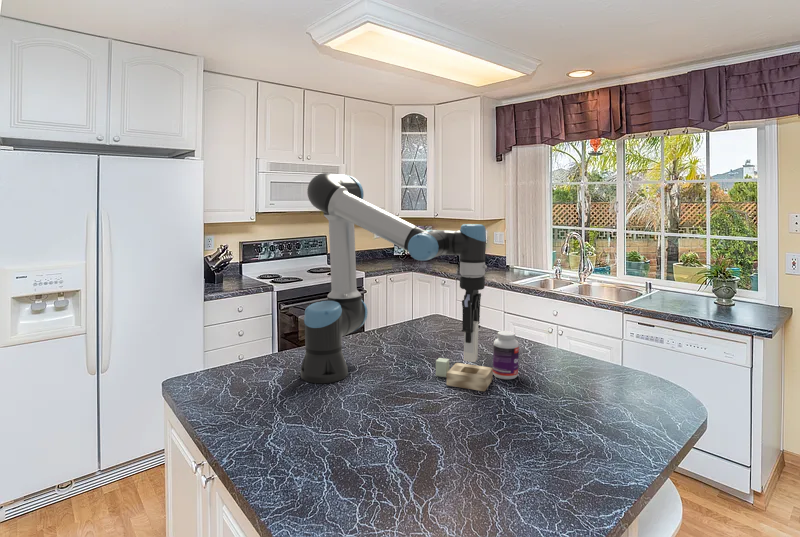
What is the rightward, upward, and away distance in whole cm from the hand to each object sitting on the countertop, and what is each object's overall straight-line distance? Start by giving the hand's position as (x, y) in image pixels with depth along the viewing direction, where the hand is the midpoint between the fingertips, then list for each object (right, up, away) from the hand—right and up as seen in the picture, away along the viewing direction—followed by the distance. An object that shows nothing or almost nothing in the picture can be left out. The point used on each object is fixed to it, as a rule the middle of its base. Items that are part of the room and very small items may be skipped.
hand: (470, 350), depth 149 cm
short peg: (-8, -9, +8) cm, 15 cm away
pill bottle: (+12, -10, +7) cm, 17 cm away
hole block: (0, -10, +2) cm, 10 cm away
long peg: (0, -3, 0) cm, 3 cm away
